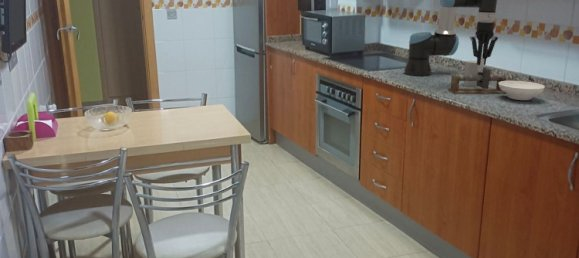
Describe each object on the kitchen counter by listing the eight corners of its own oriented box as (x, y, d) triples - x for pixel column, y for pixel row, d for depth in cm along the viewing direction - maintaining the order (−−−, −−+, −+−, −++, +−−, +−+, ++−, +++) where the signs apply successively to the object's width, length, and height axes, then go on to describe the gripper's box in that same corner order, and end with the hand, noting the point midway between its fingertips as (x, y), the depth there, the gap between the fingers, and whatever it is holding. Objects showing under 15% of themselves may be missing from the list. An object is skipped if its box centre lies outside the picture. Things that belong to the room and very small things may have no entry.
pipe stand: (454, 93, 256) (456, 75, 254) (448, 90, 264) (449, 72, 261) (506, 93, 258) (509, 75, 256) (499, 90, 266) (501, 73, 264)
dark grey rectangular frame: (483, 88, 256) (485, 69, 254) (476, 85, 264) (478, 67, 262) (488, 88, 257) (490, 69, 254) (481, 85, 264) (483, 67, 262)
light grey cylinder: (481, 86, 274) (483, 63, 271) (464, 86, 276) (466, 62, 272) (478, 84, 282) (481, 61, 278) (462, 83, 283) (465, 60, 280)
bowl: (519, 105, 234) (521, 90, 233) (487, 96, 252) (489, 82, 250) (552, 102, 242) (554, 87, 240) (518, 93, 259) (520, 79, 257)
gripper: (475, 22, 248) (470, 73, 254) (502, 22, 249) (496, 73, 255) (469, 20, 255) (463, 70, 261) (495, 21, 256) (489, 70, 262)
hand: (480, 71), depth 258 cm, fingers closed
